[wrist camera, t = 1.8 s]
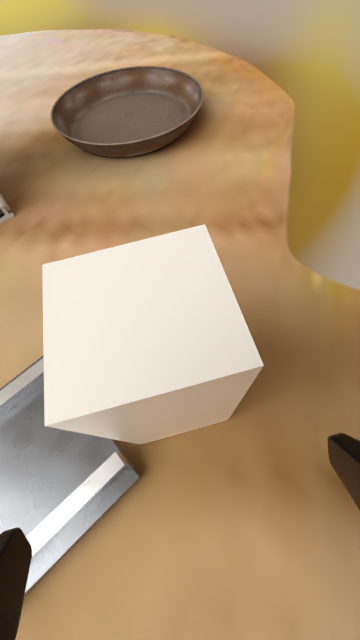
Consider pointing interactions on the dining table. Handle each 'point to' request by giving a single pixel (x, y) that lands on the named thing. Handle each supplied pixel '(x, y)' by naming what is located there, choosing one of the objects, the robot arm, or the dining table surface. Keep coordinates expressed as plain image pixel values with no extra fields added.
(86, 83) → the plant saucer
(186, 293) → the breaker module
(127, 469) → the rail plate
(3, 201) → the circuit breaker
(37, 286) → the dining table surface
